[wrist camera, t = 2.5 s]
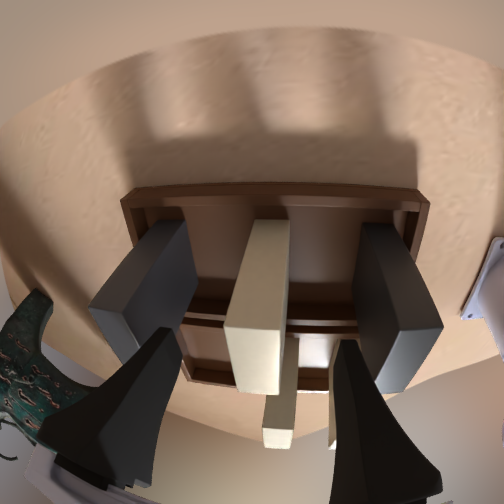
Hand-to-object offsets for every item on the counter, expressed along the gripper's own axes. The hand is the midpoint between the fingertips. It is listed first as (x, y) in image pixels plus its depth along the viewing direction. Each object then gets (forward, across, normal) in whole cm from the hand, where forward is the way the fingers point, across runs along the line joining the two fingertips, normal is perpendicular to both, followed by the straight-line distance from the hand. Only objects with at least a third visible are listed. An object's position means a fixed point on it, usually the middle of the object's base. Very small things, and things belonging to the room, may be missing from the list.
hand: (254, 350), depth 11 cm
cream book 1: (+7, 0, 0) cm, 7 cm away
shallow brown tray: (+8, 0, +10) cm, 13 cm away
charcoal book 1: (+7, +6, 0) cm, 9 cm away
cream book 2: (+7, -1, +10) cm, 12 cm away
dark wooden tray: (+8, 0, 0) cm, 8 cm away
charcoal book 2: (+7, -6, 0) cm, 10 cm away
